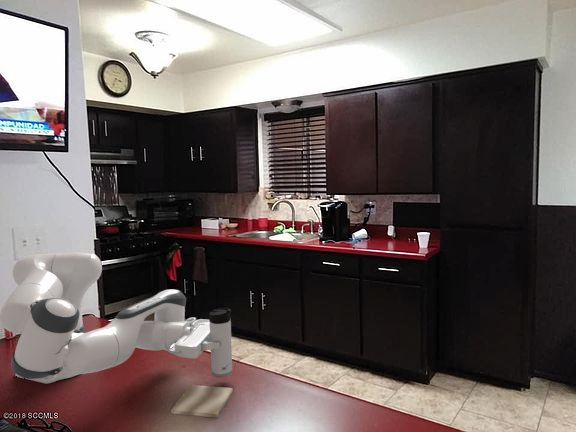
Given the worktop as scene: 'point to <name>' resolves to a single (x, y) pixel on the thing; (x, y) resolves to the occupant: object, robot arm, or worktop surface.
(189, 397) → the coaster board
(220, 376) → the travel mug
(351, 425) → the worktop surface
